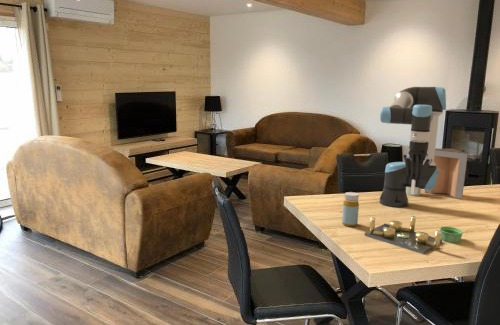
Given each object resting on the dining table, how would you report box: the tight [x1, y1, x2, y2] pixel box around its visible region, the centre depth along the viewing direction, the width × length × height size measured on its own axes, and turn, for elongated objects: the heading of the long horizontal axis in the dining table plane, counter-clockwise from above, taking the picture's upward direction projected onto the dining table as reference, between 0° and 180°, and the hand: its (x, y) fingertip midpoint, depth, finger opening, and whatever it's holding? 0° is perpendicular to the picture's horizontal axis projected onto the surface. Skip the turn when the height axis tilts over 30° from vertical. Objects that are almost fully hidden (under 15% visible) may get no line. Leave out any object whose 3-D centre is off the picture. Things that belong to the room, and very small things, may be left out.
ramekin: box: [439, 226, 464, 244], centre depth 169 cm, size 9×9×4 cm
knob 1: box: [368, 217, 395, 238], centre depth 169 cm, size 10×5×7 cm, turn 63°
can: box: [406, 187, 421, 197], centre depth 240 cm, size 9×9×12 cm
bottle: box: [341, 191, 360, 228], centre depth 184 cm, size 7×7×15 cm
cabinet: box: [424, 148, 469, 200], centre depth 238 cm, size 21×10×28 cm, turn 47°
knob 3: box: [415, 230, 441, 249], centre depth 160 cm, size 11×5×7 cm, turn 29°
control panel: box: [364, 223, 443, 255], centre depth 169 cm, size 26×18×2 cm
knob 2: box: [389, 215, 417, 232], centre depth 175 cm, size 10×5×7 cm, turn 68°
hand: (413, 193), depth 174 cm, fingers closed
